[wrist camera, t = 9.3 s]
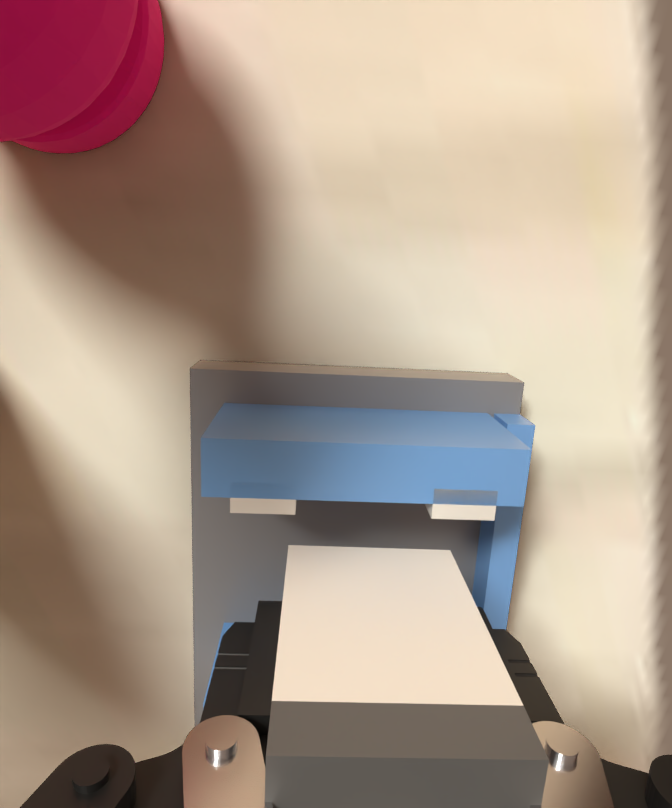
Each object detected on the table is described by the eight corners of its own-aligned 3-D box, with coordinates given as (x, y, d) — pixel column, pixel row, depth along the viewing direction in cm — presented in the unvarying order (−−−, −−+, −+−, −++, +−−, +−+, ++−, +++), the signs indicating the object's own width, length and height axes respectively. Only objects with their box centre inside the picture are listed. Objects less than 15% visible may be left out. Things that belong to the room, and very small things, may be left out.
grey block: (283, 684, 14) (260, 967, 9) (288, 544, 13) (265, 755, 8) (434, 686, 15) (512, 965, 9) (450, 550, 14) (549, 760, 8)
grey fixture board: (205, 954, 24) (177, 1131, 19) (200, 360, 18) (156, 395, 13) (434, 952, 24) (464, 1123, 19) (507, 373, 18) (577, 411, 13)
